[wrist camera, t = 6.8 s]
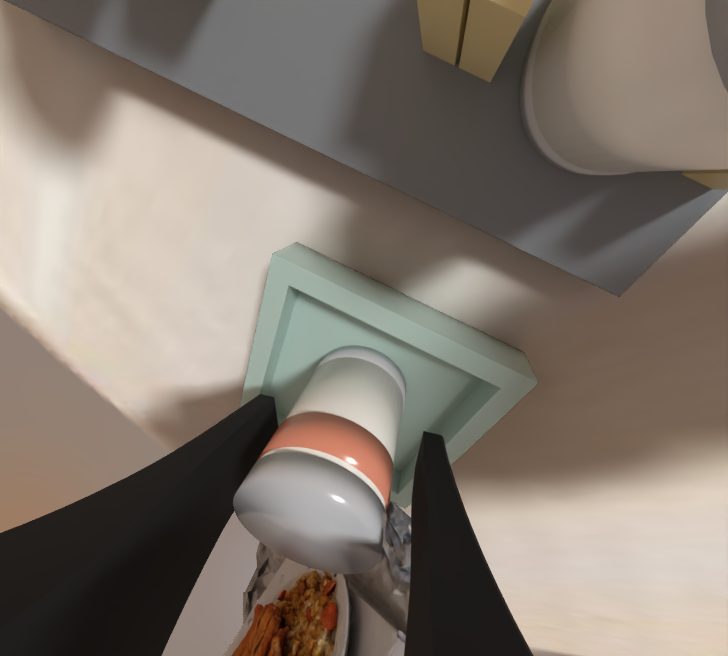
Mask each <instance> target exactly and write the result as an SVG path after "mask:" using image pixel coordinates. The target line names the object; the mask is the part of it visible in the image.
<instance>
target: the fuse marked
mask: <svg viewBox="0 0 728 656" xmlns="http://www.w3.org/2000/svg"><path fill="white" fill-rule="evenodd" d="M406 391H407V387H406V381H405V378H404V375H403V373H402V372H401V370H400V369H399V367H398V366H397V365H396V364H395V363H394V362H393V361H392V360H391V359H390V358H389V357H387V356H386V355H384V354H383V353H381V352H379V351H377V350H375V349H372V348H369V347H365V346H359V345H349V346H342V347H339V348H336V349H334V350H332V351H330V352H329V353H328V354H326V355H325V356H324V358H323V359H322V360H321V362H320V363H319V365H318V367H317V368H316V370H315V371H314V373H313V375H312V378H311V380H310V381H309V383H308V384H307V386H306V388H305V389H304V391H303V392H302V394H301V395H300V397H299V398H298V400H297V402H296V403H295V405H294V406H293V408H292V409H291V411H290V413H289V414H288V416H287V417H286V419H285V420H284V421H283V422H282V423H281V424H280V425H279V427H278V428H277V430H276V432H275V433H274V435H273V436H272V438H271V439H270V441H269V442H268V444H267V446H266V447H265V449H264V450H263V452H262V453H261V455H260V456H259V458H258V459H257V461H256V463H255V464H254V466H253V467H252V469H251V470H250V472H249V473H248V475H247V476H246V478H245V480H244V481H243V483H242V484H241V486H240V487H239V489H238V490H237V492H236V493H235V495H234V499H233V506H234V510H235V513H236V515H237V517H238V519H239V520H240V522H241V523H242V524H243V526H244V527H245V528H246V529H247V530H248V531H249V532H250V533H251V534H252V535H253V536H254V537H255V538H256V539H258V540H259V541H260V542H261V543H263V544H264V545H265V546H267V547H268V548H270V549H272V550H273V551H275V552H276V553H278V554H280V555H282V556H284V557H286V558H288V559H290V560H292V561H294V562H296V563H299V564H302V565H304V566H307V567H310V568H313V569H317V570H320V571H325V572H330V573H336V574H358V573H363V572H367V571H369V570H371V569H373V568H374V567H375V566H376V565H377V564H378V563H379V561H380V559H381V553H382V547H383V541H384V534H385V528H386V520H387V515H388V508H389V502H390V495H391V489H392V482H393V476H394V460H395V453H396V447H397V441H398V435H399V428H400V422H401V416H402V413H403V410H404V405H405V399H406Z"/></svg>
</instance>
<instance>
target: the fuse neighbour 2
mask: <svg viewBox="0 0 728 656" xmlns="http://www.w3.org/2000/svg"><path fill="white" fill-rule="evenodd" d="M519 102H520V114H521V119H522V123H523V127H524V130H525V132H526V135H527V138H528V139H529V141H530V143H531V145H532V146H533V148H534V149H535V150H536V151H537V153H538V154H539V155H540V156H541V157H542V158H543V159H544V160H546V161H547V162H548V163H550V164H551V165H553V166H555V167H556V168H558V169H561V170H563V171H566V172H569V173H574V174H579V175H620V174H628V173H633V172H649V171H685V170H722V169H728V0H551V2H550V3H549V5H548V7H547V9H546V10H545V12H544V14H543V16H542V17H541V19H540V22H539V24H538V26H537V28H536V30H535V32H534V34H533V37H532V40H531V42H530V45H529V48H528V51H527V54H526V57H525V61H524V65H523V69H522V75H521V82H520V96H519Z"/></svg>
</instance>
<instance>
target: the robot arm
mask: <svg viewBox="0 0 728 656" xmlns="http://www.w3.org/2000/svg"><path fill="white" fill-rule="evenodd" d="M277 428H278V419H277V412H276V405H275V398H274V397H272V396H267V395H263V394H259V395H258V396H256V397H255V398H254V399H252V400H251V401H249V402H248V403H246V404H245V405H243V406H242V407H240V408H239V409H238V410H236V411H235V412H233V413H232V414H230V415H229V416H228V417H226V418H225V419H223V420H222V421H220V422H219V423H217V424H216V425H214V426H213V427H211V428H210V429H208V430H207V431H205V432H204V433H202V434H201V435H199V436H198V437H196V438H194V439H193V440H191V441H190V442H188V443H186V444H185V445H183V446H182V447H180V448H178V449H177V450H175V451H174V452H172V453H170V454H169V455H167V456H165V457H163V458H162V459H160V460H158V461H156V462H155V463H153V464H151V465H149V466H147V467H146V468H144V469H142V470H140V471H138V472H136V473H134V474H132V475H130V476H129V477H127V478H125V479H122V480H120V481H118V482H116V483H114V484H112V485H110V486H108V487H106V488H104V489H102V490H100V491H98V492H96V493H94V494H92V495H90V496H88V497H85V498H83V499H81V500H79V501H77V502H74V503H72V504H70V505H68V506H65V507H63V508H61V509H58V510H56V511H54V512H52V513H49V514H47V515H44V516H42V517H40V518H37V519H35V520H32V521H30V522H28V523H26V524H23V525H20V526H18V527H15V528H13V529H10V530H7V531H5V532H2V533H0V656H161V655H162V653H163V651H164V649H165V646H166V644H167V642H168V640H169V637H170V635H171V633H172V631H173V629H174V627H175V625H176V623H177V620H178V618H179V616H180V614H181V612H182V610H183V608H184V605H185V604H186V601H187V599H188V597H189V595H190V593H191V591H192V589H193V587H194V585H195V583H196V581H197V579H198V577H199V575H200V573H201V571H202V569H203V567H204V565H205V563H206V561H207V559H208V557H209V555H210V553H211V551H212V550H213V548H214V546H215V543H216V542H217V540H218V538H219V536H220V534H221V532H222V531H223V529H224V527H225V525H226V524H227V522H228V520H229V519H230V517H231V515H232V514H233V512H234V511H235V510H234V506H233V499H234V495H235V493H236V492H237V490H238V489H239V487H240V486H241V484H242V483H243V481H244V480H245V478H246V476H247V475H248V473H249V472H250V470H251V469H252V467H253V466H254V464H255V463H256V461H257V459H258V458H259V456H260V455H261V453H262V452H263V450H264V449H265V447H266V446H267V444H268V442H269V441H270V439H271V438H272V436H273V435H274V433H275V432H276V430H277ZM404 656H533V654H532V652H531V650H530V648H529V647H528V645H527V643H526V641H525V639H524V637H523V635H522V633H521V632H520V630H519V628H518V626H517V624H516V622H515V620H514V618H513V616H512V614H511V612H510V610H509V608H508V606H507V604H506V602H505V600H504V598H503V596H502V594H501V592H500V590H499V588H498V586H497V583H496V581H495V579H494V577H493V575H492V573H491V570H490V568H489V566H488V564H487V562H486V559H485V557H484V555H483V553H482V550H481V548H480V546H479V543H478V541H477V538H476V536H475V533H474V531H473V529H472V526H471V524H470V521H469V518H468V516H467V513H466V511H465V508H464V505H463V502H462V499H461V497H460V494H459V491H458V488H457V485H456V482H455V479H454V476H453V473H452V469H451V466H450V462H449V459H448V455H447V451H446V447H445V442H444V438H443V436H442V435H439V434H435V433H430V432H426V431H423V436H422V440H421V444H420V448H419V452H418V457H417V461H416V465H415V472H414V481H413V490H412V508H411V572H410V594H409V605H408V617H407V628H406V639H405V650H404Z"/></svg>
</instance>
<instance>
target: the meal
mask: <svg viewBox="0 0 728 656" xmlns="http://www.w3.org/2000/svg"><path fill="white" fill-rule="evenodd" d="M410 572H411V518H410V517H409V516H408V515H407V514H405V513H404V512H403V511H402V510H401V509H399V508H398V507H397V506H396V505H395V504H394V503H393V502H391V501H390V504H389V508H388V515H387V520H386V528H385V534H384V541H383V547H382V553H381V559H380V561H379V563H378V564H377V565H376V566H375V567H374V568H373V569H371V570H369V571H367V572H363V573H358V574H336V573H330V572H325V571H320V570H317V569H313V568H310V567H307V566H304V565H302V564H299V563H296V562H294V561H292V560H290V559H288V558H286V557H284V556H282V555H280V554H278V553H276V552H275V551H273V550H272V549H270V548H268V547H267V546H265V545H264V544H263V543H261V542H260V543H259V546H258V550H257V569H256V570H255V572H254V575H253V577H252V579H251V581H250V583H249V585H248V587H247V589H246V591H245V592H244V593H243V625H242V627H241V629H240V631H239V632H238V634H237V636H236V637H235V639H234V640H233V642H232V644H230V645H229V647H228V649H227V651H226V652H225V653H224V655H223V656H404V650H405V639H406V628H407V617H408V605H409V594H410ZM257 600H258V601H257Z"/></svg>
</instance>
